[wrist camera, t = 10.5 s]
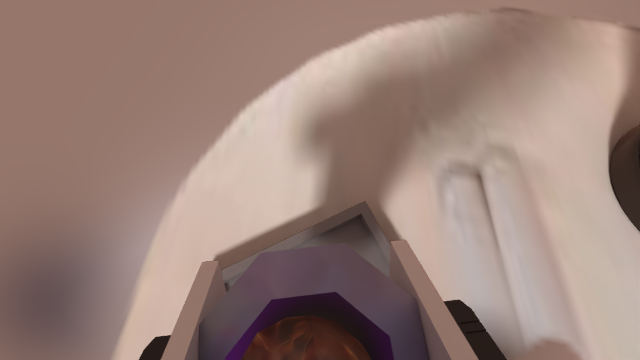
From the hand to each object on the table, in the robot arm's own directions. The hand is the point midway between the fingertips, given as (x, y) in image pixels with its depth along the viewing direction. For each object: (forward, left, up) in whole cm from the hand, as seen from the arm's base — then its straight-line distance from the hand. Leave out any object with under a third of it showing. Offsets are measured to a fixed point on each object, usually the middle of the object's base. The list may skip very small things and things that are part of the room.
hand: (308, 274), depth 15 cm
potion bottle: (+1, +3, -4) cm, 5 cm away
